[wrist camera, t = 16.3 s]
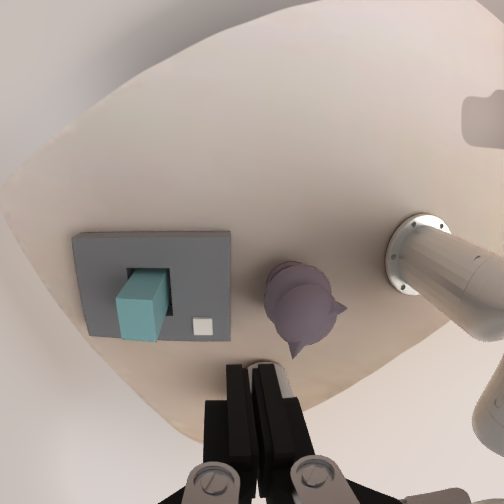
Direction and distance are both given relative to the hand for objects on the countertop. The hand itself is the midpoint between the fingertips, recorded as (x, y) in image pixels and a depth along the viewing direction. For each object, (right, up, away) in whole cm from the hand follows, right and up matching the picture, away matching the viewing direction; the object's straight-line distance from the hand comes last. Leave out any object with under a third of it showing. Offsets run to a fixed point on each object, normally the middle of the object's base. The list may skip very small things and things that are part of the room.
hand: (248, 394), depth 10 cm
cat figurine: (+5, +1, +31) cm, 31 cm away
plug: (-13, +1, +29) cm, 32 cm away
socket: (-13, +1, +29) cm, 32 cm away
